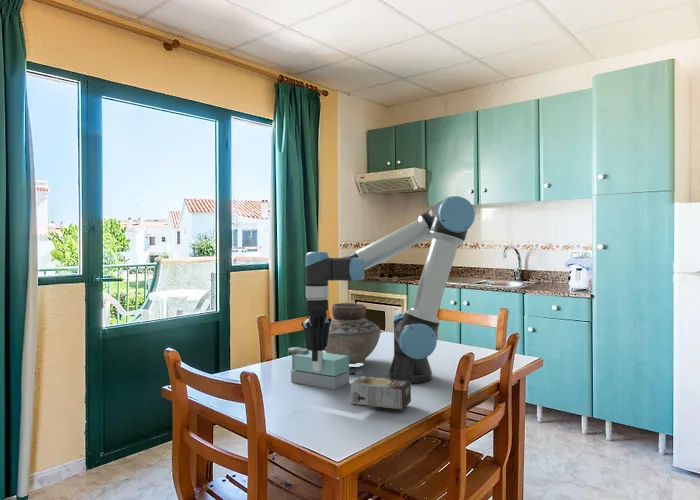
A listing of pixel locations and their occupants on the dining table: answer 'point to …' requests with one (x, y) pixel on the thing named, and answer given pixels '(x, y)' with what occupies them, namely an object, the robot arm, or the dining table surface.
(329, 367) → the lid
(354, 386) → the coffee box
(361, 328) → the ceramic pot
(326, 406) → the dining table surface
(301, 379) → the grey box
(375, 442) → the dining table surface
